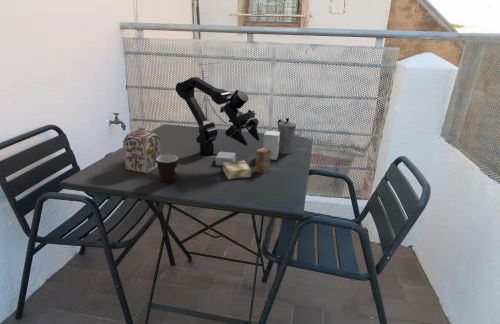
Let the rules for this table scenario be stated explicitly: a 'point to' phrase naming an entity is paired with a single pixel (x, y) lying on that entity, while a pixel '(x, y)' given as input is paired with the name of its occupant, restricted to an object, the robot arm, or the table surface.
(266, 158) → the walnut block
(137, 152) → the decorative jar
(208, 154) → the robot arm
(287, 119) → the coffeepot
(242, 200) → the table surface
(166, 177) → the coffee mug
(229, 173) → the beech block
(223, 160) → the slate block
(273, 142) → the supplement box
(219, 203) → the table surface
